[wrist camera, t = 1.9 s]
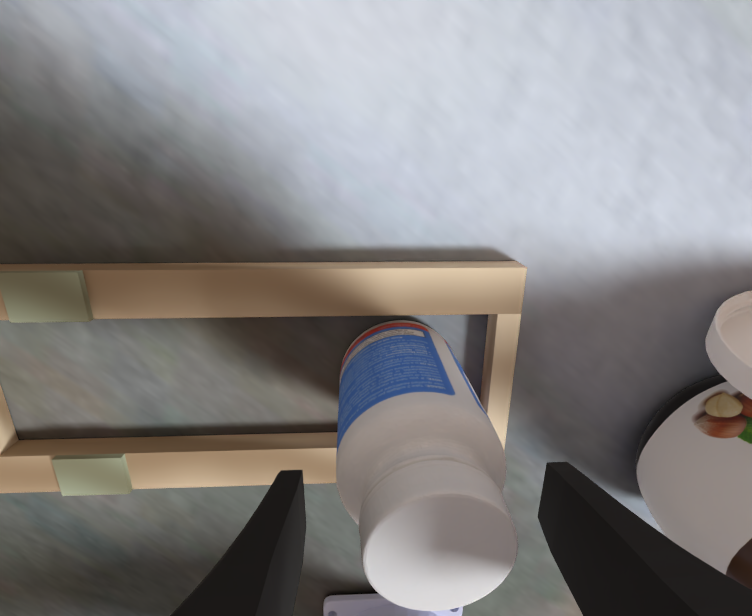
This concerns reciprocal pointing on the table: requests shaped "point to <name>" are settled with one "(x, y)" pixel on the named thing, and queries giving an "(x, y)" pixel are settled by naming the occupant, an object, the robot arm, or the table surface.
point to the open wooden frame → (239, 299)
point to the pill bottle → (421, 471)
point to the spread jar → (707, 452)
